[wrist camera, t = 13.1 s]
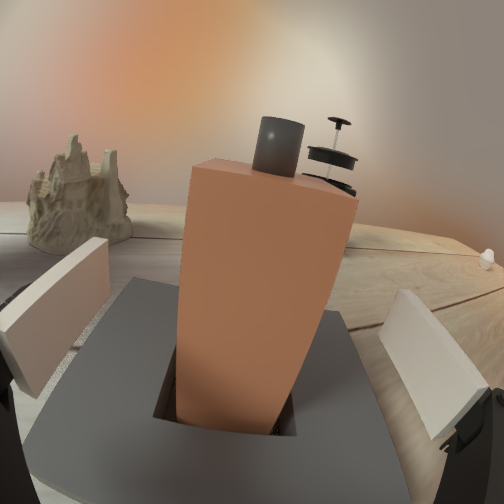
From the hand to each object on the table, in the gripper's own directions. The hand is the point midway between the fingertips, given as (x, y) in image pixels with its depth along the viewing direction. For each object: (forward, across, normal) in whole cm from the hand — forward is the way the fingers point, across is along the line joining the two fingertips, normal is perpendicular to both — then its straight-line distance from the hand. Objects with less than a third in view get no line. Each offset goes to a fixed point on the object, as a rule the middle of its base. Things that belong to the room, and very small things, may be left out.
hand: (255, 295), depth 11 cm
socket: (+1, 0, -9) cm, 9 cm away
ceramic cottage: (+24, -25, -9) cm, 36 cm away
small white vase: (+48, +79, -9) cm, 93 cm away
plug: (0, 0, -9) cm, 9 cm away
